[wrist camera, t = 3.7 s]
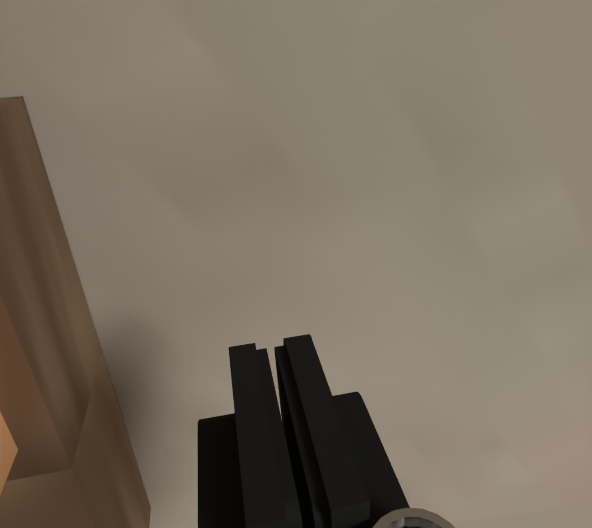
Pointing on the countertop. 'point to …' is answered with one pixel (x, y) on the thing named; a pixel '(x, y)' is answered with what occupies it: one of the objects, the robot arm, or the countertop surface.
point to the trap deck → (54, 363)
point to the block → (6, 452)
